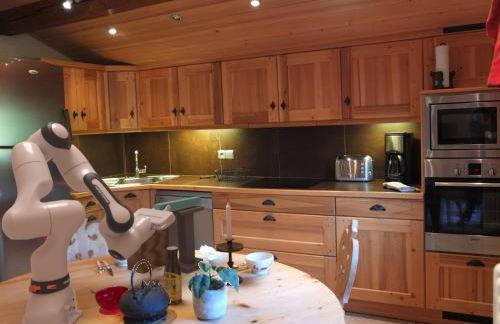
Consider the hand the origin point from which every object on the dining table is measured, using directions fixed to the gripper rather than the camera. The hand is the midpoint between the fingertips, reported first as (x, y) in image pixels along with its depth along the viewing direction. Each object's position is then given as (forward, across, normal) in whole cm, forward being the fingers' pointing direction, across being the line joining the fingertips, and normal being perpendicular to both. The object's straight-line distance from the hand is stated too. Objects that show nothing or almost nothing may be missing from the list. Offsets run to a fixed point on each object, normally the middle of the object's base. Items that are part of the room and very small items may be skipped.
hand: (165, 205), depth 190 cm
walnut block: (-13, +16, +26) cm, 33 cm away
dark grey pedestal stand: (-6, +1, +31) cm, 31 cm away
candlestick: (-8, -27, +30) cm, 41 cm away
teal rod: (+5, 0, +6) cm, 8 cm away
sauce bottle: (-31, -24, +16) cm, 42 cm away
